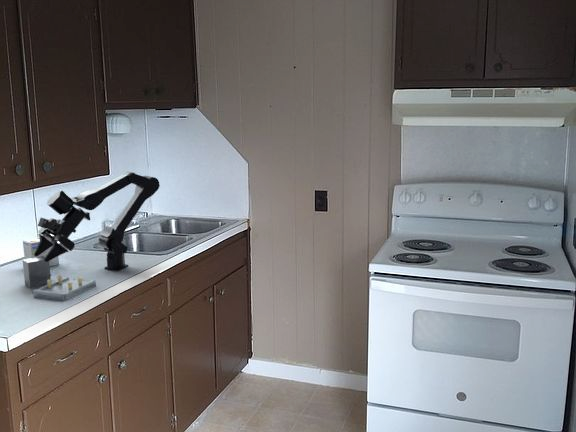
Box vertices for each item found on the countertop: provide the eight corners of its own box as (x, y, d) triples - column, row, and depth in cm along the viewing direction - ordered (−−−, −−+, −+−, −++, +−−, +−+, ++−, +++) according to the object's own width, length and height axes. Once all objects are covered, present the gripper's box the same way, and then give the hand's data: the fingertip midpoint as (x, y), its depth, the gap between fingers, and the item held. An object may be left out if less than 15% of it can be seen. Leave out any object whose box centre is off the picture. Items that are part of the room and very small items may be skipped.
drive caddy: (46, 280, 205) (44, 255, 203) (51, 283, 202) (49, 258, 200) (25, 284, 200) (22, 259, 199) (30, 288, 197) (27, 262, 195)
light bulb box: (50, 261, 229) (48, 234, 227) (60, 264, 224) (57, 237, 222) (24, 267, 221) (21, 239, 218) (33, 270, 216) (30, 242, 214)
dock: (66, 282, 203) (65, 270, 202) (95, 285, 199) (95, 273, 198) (33, 296, 188) (32, 284, 187) (64, 301, 184) (63, 288, 184)
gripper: (41, 205, 207) (12, 240, 202) (63, 212, 194) (31, 250, 188) (65, 223, 214) (37, 258, 209) (87, 232, 200) (57, 269, 195)
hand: (40, 258), depth 200 cm, fingers open, 9 cm apart
